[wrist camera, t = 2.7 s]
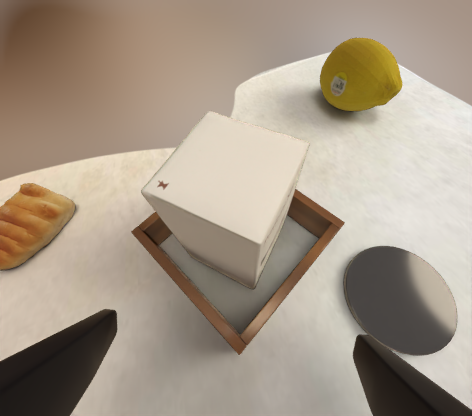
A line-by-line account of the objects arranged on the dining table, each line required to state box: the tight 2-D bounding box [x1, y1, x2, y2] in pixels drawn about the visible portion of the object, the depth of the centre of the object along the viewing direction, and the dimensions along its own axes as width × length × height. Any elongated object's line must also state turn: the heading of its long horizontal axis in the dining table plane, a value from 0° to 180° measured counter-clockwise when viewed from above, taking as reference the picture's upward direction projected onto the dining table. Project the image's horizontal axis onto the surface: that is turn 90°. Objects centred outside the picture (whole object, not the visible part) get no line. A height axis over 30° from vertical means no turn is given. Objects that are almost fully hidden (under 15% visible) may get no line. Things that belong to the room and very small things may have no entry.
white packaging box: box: [141, 111, 310, 290], centre depth 18 cm, size 7×7×13 cm
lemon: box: [320, 38, 402, 111], centre depth 29 cm, size 11×8×8 cm
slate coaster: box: [344, 246, 457, 355], centre depth 20 cm, size 9×9×1 cm
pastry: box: [0, 183, 75, 270], centre depth 24 cm, size 9×7×4 cm
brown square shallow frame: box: [132, 189, 345, 355], centre depth 22 cm, size 14×14×4 cm
